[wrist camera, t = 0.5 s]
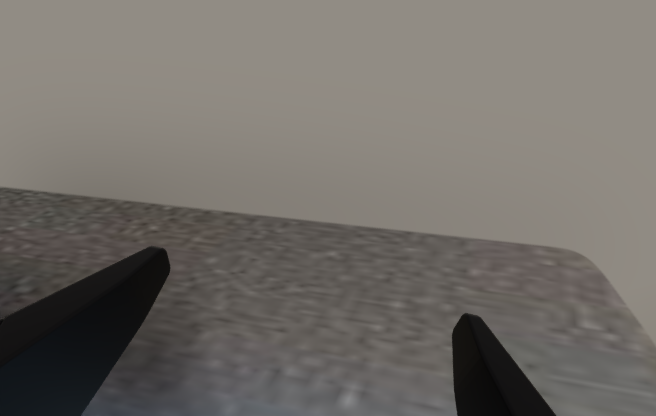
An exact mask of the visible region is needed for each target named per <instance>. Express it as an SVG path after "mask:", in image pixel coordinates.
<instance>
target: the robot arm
mask: <svg viewBox="0 0 656 416" xmlns="http://www.w3.org/2000/svg"><path fill="white" fill-rule="evenodd" d="M169 273H170V263H169V259H168V255H167V251H166V250H165V249H164V248H160V247H156V246H150V247H147V248H145V249H143V250H141V251H139V252H137V253H135V254H133V255H131V256H129V257H127V258H125V259H123V260H121V261H119V262H117V263H115V264H113V265H111V266H109V267H107V268H105V269H102V270H100V271H98V272H96V273H94V274H92V275H90V276H88V277H86V278H84V279H82V280H80V281H78V282H76V283H74V284H72V285H70V286H68V287H66V288H64V289H62V290H60V291H58V292H55V293H53V294H51V295H49V296H47V297H45V298H43V299H41V300H39V301H37V302H35V303H33V304H31V305H29V306H27V307H25V308H23V309H21V310H19V311H17V312H15V313H13V314H11V315H8V316H6V317H5V318H4V319H0V416H81V415H82V413H83V412H84V410H85V409H86V407H87V406H88V404H89V403H90V401H91V400H92V398H93V397H94V395H95V394H96V392H97V391H98V389H99V388H100V386H101V385H102V383H103V382H104V380H105V379H106V377H107V376H108V374H109V373H110V371H111V370H112V368H113V367H114V365H115V364H116V362H117V361H118V359H119V358H120V356H121V355H122V353H123V352H124V350H125V349H126V347H127V346H128V344H129V343H130V341H131V340H132V338H133V337H134V335H135V334H136V332H137V331H138V329H139V328H140V326H141V325H142V323H143V322H144V320H145V318H146V317H147V315H148V313H149V311H150V309H151V307H152V306H153V304H154V302H155V300H156V298H157V296H158V294H159V292H160V290H161V289H162V287H163V285H164V283H165V281H166V279H167V277H168V275H169ZM452 348H453V378H454V393H455V401H456V408H457V415H458V416H556V415H555V413H554V412H553V411H552V409H551V408H550V407H549V405H548V404H547V403H546V402H545V400H544V399H543V398H542V396H541V395H540V394H539V392H538V391H537V390H536V389H535V387H534V386H533V385H532V383H531V382H530V381H529V379H528V378H527V377H526V376H525V374H524V373H523V372H522V370H521V369H520V368H519V366H518V365H517V364H516V363H515V361H514V360H513V359H512V357H511V356H510V355H509V353H508V352H507V351H506V350H505V348H504V347H503V346H502V344H501V343H500V342H499V340H498V339H497V338H496V337H495V335H494V334H493V333H492V331H491V330H490V329H489V327H488V326H487V325H486V324H485V322H484V321H483V320H482V318H480V317H479V316H477V315H473V314H468V313H465V314H463V315H462V316H461V318H460V319H459V321H458V323H457V324H456V326H455V327H454V329H453V333H452Z"/></svg>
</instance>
